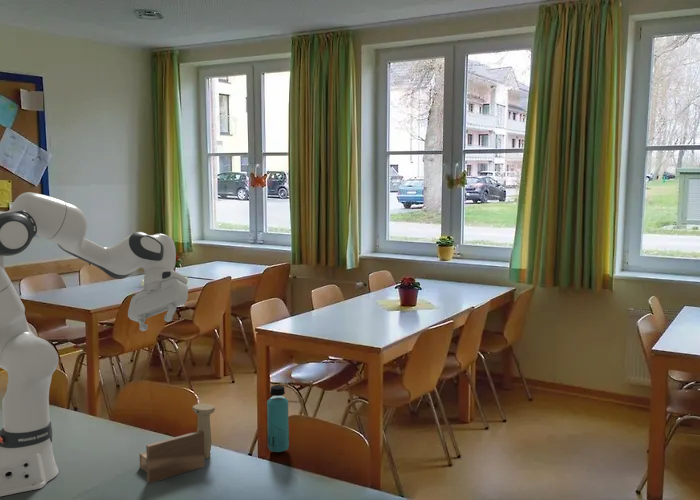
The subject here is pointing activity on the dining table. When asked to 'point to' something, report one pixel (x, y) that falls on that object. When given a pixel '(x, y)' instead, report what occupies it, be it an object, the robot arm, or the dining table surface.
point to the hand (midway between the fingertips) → (155, 325)
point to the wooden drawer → (173, 456)
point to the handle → (205, 424)
